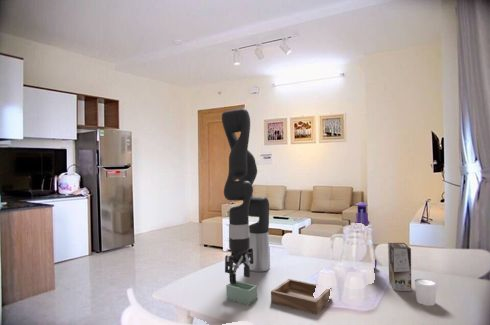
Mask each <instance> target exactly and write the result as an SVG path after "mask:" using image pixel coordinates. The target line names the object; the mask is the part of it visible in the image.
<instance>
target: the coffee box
mask: <svg viewBox="0 0 490 325" xmlns="http://www.w3.org/2000/svg"><path fill="white" fill-rule="evenodd" d="M387 248H388V252H387V255H388V283H389V284H390V286H391V288H392V289H393V290H394V291H399V292H412V248H411V247H410V246H409V245H407V244H406V243H405V242H388V243H387Z"/></svg>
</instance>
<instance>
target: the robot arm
mask: <svg viewBox="0 0 490 325" xmlns="http://www.w3.org/2000/svg"><path fill="white" fill-rule="evenodd" d="M221 123H222V127H223V130H224V132H225V136H226V138H227V141H228V144H229V148H230V152H229V156H228V174H227V178H226V181H225V185H224V186H223V196H224V198H225V199H226V200H227V201H242V203H241V204H240V205H236V206H233V207H231V208H229V210H228V211H229V212H228V216H229V217H228V219H229V224H228V225H229V226H228V248H229V249H230V252H231V253H230V254H229V255H228V254H227V255H225V257H224V259H225V260H224V262H225V263H224V273H226V274H228V275H229V276H228V277H229V284H233V285H234V284H236V281H237V274H236V273H237V270H238V269H239V268H240V266H241V265H243V277H245V278H250V276H251V272H257V273H258V272H259V273H260V272H261V273H263V272H267V271H269V270H270V267H271V252H270V251H271V248H270V243H269V242H270V239H269V236H270V235H269V226H270V202H269V199H268V197H265V196H253V193H254V186H253V184H254V183H255V180H256V178H257V175H258V168H257V163H256V158H255V156H254V155H253V153H252V152H251V151H249V150H248V148H249V141H250V132H251V116H250V114H249V111H248V110H247V109H246V108H238V109H232V110H231V109H230V110H227V111H224V112H222V114H221ZM236 133H240V135H239V137H237V135H236ZM237 180H238V181H237ZM249 217H251V218H253V217H254V218H258V221H257V222H255V223H251V224H250V223H249V222H250V221H249V220H250V218H249Z"/></svg>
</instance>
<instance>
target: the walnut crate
mask: <svg viewBox="0 0 490 325" xmlns="http://www.w3.org/2000/svg"><path fill="white" fill-rule="evenodd" d="M316 285H317V284H315V283H311V282H307V281H301V280H297V279H293V278H292V279H291V278H288V279H286V280H285V281H284V282H282V283H280V284H279V285H277V286H276V287H275V288H274V289H272V290H271V291H270V303H272V304H276V305H279V306H283V307H287V308H291V309H295V310H299V311H302V312H304V313H305V312H306V313H310V314H314V315H317V314H319V312H320V311H321V310H322V309H323V308H324V307H325V306H326V305H327V304H328V303H329V302H328V300H329V296H330V289H331V290H332V287H331V288H330V289H326V290H325V291H324V292H323V293H322V294H321V295H320V296H319V297H318V298H316V299H315V298H314V296H313V293H314V292H315V288H316ZM327 302H328V303H327ZM326 303H327V304H326Z"/></svg>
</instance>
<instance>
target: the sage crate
mask: <svg viewBox="0 0 490 325" xmlns="http://www.w3.org/2000/svg"><path fill="white" fill-rule="evenodd" d="M225 288H226V300H229V301H234V302H236V303H240V304H244V305H248V306H250V305H252V304H253V303H254V301H255V302H256V301H257V300H258V298H259V297H258V296H259V295H258V285H255V284H251V283H247V282H244V281H243V282H242V281H239V280H236V284H234V285H233V284H230V283H227V284H226V286H225ZM251 303H252V304H251Z"/></svg>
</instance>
